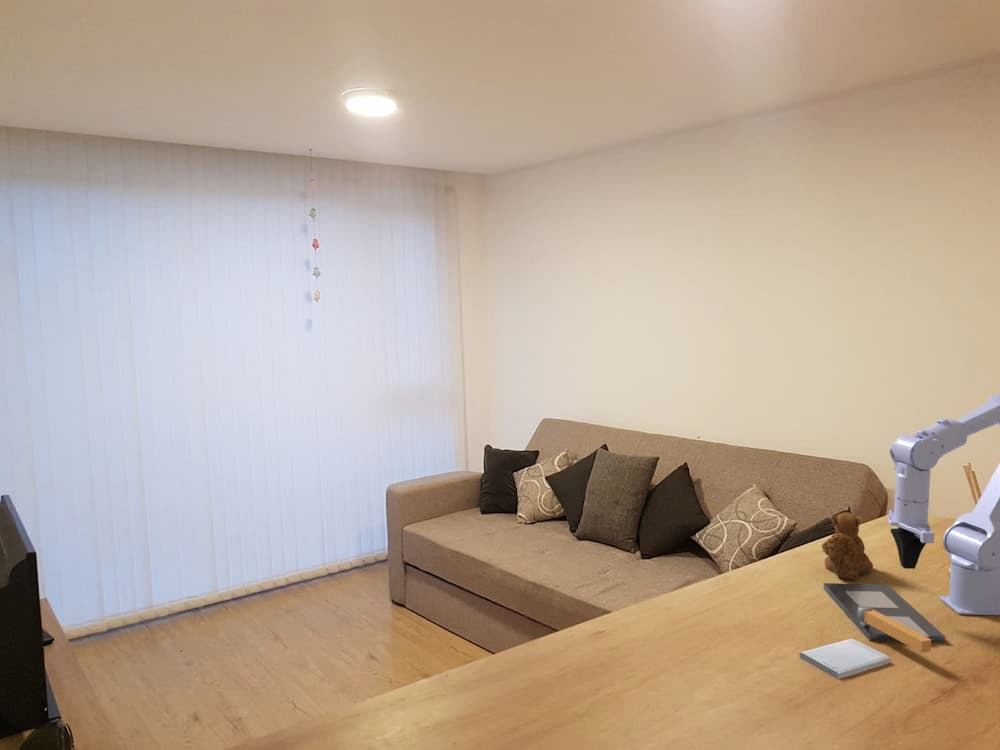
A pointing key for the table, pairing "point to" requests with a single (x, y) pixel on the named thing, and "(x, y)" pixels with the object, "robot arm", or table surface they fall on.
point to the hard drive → (845, 658)
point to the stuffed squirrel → (846, 548)
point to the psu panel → (880, 609)
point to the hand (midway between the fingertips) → (908, 567)
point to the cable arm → (894, 629)
